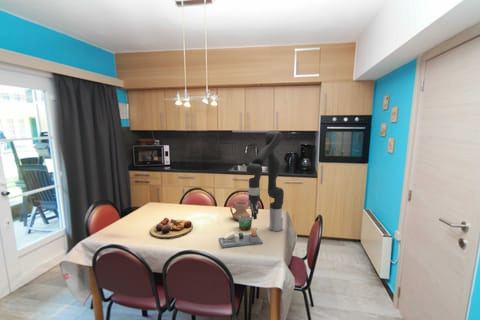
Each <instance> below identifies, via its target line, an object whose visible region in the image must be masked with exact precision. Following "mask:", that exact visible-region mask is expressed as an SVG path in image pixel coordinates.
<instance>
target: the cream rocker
mask: <svg viewBox="0 0 480 320" xmlns="http://www.w3.org/2000/svg"><path fill="white" fill-rule="evenodd" d="M235 234H236V233H235V230H232V231H230V232H229V233H227V234H224V235H223V237H224V239H225V240H228V239H230V238H232V237H234V236H235Z"/></svg>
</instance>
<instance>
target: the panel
mask: <svg viewBox="0 0 480 320" xmlns="http://www.w3.org/2000/svg"><path fill="white" fill-rule="evenodd" d="M218 241H219V244H220V247H221V249H228V248H237V247H246V246H254V245H255V246H256V245H262V244H263V241H262V239H261V238H260V236H259V235H258V233H257V236H256V237H252V236H251V233H248V234H243V238H242V239H239V242H238V243H235V236H234V237H232V238H230V239H228V240H225V239H224V236H223V237H218Z"/></svg>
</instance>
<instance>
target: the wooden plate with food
mask: <svg viewBox="0 0 480 320" xmlns="http://www.w3.org/2000/svg"><path fill="white" fill-rule="evenodd" d="M193 229H194V224H193V222H192V221H191V220H187V219H186V220H185V219H173V218H171V219H169V217H164V218H163V220H161V221H160V222H159V223H157V224H155V225H153V226H152V227H151V228H150V229H149V230H150V231H149V234H150V236H152V237H153V238H156V239H161V240H162V239H163V240H165V239H166V240H167V239H175V238H180V237H182V236H184V235H187V234H189V233H190V232H191V231H193Z"/></svg>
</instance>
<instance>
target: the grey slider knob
mask: <svg viewBox="0 0 480 320" xmlns="http://www.w3.org/2000/svg"><path fill="white" fill-rule="evenodd" d="M238 234H239V233H235V243H238V242H239V235H238Z"/></svg>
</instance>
